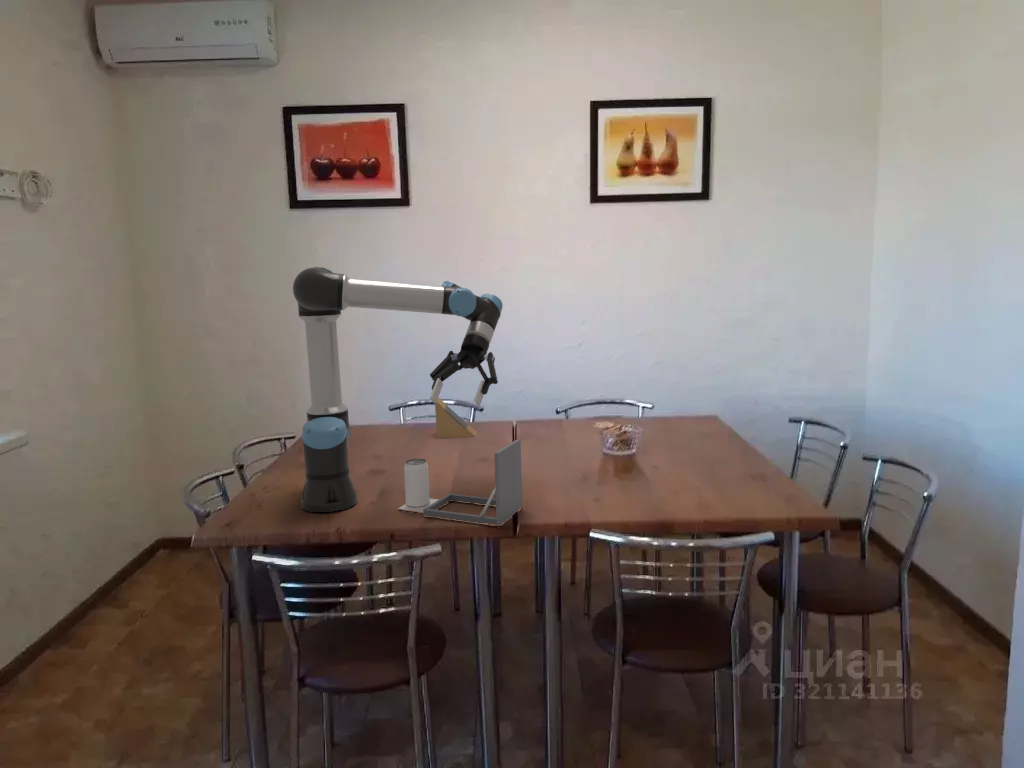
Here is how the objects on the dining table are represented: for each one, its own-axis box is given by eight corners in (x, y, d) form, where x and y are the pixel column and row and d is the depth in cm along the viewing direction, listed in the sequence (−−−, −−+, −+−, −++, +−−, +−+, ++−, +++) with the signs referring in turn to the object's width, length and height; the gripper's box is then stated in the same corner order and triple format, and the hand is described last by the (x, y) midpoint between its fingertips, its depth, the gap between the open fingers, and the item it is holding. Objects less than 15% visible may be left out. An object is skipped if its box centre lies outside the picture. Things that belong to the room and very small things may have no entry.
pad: (398, 510, 190) (398, 508, 190) (417, 498, 199) (417, 496, 199) (424, 514, 187) (424, 511, 187) (442, 502, 196) (442, 500, 196)
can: (401, 504, 193) (398, 461, 191) (419, 498, 198) (417, 456, 196) (416, 509, 189) (414, 465, 187) (434, 503, 193) (432, 460, 191)
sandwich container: (477, 437, 269) (475, 398, 266) (436, 439, 268) (434, 400, 266) (477, 432, 277) (476, 394, 275) (438, 433, 277) (436, 395, 274)
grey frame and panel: (423, 517, 185) (420, 446, 182) (449, 500, 197) (446, 433, 194) (500, 527, 176) (498, 453, 173) (522, 509, 189) (520, 439, 185)
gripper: (520, 349, 202) (500, 411, 191) (444, 347, 212) (420, 406, 201) (512, 333, 197) (491, 396, 186) (434, 331, 207) (409, 391, 196)
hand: (454, 401), depth 193 cm, fingers open, 13 cm apart
